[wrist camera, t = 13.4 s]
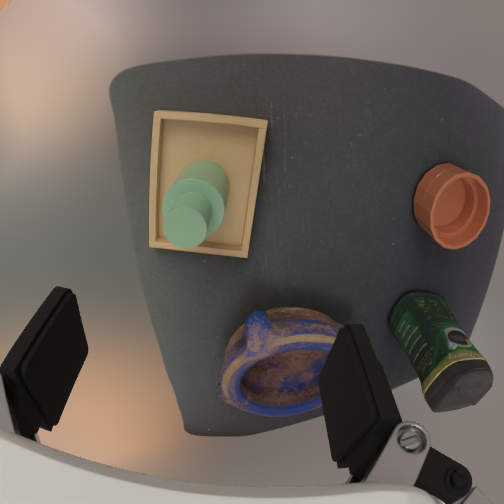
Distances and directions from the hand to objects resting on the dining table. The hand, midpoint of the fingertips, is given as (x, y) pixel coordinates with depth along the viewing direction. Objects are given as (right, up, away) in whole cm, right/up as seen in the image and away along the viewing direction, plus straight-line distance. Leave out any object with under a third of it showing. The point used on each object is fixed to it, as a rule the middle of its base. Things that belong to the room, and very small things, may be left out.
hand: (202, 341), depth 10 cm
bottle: (-4, +10, +24) cm, 26 cm away
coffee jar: (+27, -6, +34) cm, 44 cm away
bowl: (+6, -9, +35) cm, 37 cm away
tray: (-4, +11, +24) cm, 27 cm away
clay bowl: (+27, +10, +25) cm, 38 cm away
